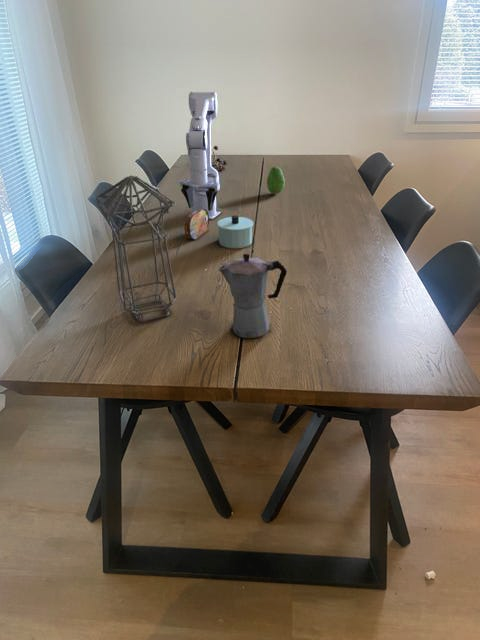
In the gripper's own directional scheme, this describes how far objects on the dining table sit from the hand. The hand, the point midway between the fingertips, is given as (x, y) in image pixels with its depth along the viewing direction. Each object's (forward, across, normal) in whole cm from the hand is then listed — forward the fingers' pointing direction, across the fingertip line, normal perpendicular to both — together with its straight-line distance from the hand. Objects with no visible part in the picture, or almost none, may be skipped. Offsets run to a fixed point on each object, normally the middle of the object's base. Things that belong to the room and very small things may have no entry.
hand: (200, 208), depth 160 cm
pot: (+9, +14, -3) cm, 17 cm away
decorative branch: (+10, -35, +90) cm, 97 cm away
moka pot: (+9, +40, -52) cm, 66 cm away
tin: (+10, -1, -1) cm, 10 cm away
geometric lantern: (+9, +12, -54) cm, 56 cm away
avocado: (+3, +10, +54) cm, 55 cm away
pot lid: (+3, +14, -2) cm, 15 cm away
